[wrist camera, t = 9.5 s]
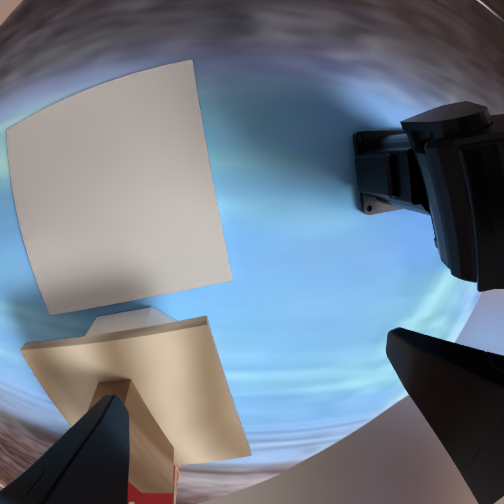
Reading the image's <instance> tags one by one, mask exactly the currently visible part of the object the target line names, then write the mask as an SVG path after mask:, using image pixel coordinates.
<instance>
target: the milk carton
mask: <svg viewBox="0 0 504 504" xmlns="http://www.w3.org/2000/svg"><path fill="white" fill-rule="evenodd" d="M179 471H180V465H174V475H173V492H174V493H141V492H140V491H139V490H138V489H137V488H136V487H134V486H133V485H132V484H131V483H130V482H129V481H128V504H175V502H176V491H177V484H178V478H179Z"/></svg>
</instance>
